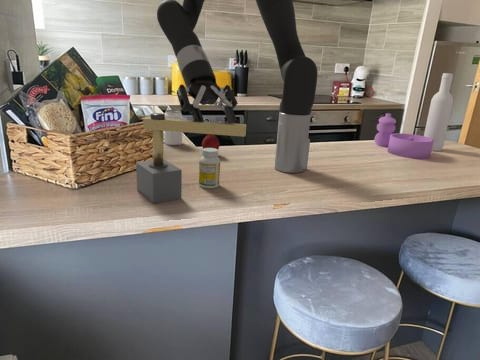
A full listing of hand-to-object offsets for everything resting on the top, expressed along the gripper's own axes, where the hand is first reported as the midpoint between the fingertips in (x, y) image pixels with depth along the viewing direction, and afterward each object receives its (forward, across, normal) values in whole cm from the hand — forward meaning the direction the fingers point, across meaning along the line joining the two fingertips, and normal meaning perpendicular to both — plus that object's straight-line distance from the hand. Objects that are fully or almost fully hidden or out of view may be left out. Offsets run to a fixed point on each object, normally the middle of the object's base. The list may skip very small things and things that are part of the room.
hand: (217, 123), depth 89 cm
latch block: (+9, -13, +16) cm, 22 cm away
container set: (+6, +90, +18) cm, 92 cm away
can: (-23, +13, +49) cm, 56 cm away
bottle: (+9, +106, +15) cm, 108 cm away
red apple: (-9, +17, +35) cm, 40 cm away
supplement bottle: (+9, +1, +16) cm, 18 cm away
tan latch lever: (+7, -6, +7) cm, 12 cm away
